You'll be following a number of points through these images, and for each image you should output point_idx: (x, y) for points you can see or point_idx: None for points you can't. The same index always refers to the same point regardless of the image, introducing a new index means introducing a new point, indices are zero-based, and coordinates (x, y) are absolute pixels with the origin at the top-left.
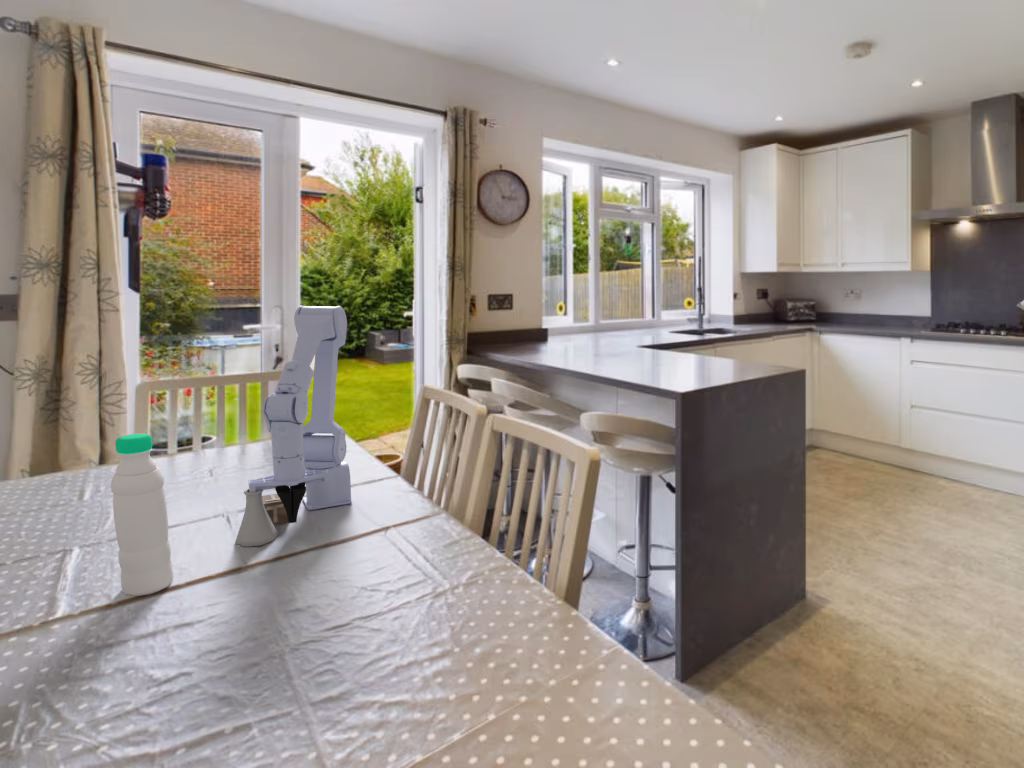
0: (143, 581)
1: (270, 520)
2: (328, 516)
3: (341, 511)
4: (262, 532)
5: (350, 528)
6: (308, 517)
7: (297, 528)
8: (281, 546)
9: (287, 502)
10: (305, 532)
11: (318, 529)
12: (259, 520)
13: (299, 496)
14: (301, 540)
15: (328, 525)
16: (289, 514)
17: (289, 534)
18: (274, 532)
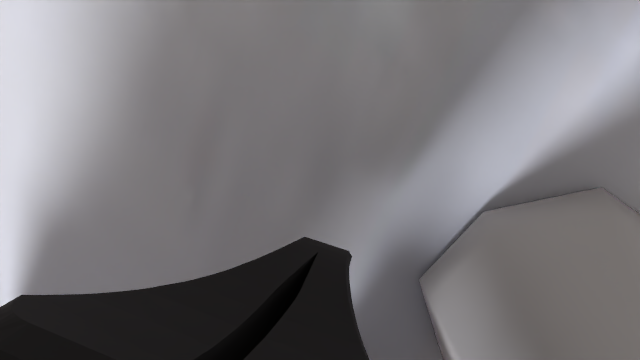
0: None
1: (471, 352)
2: None
3: None
4: (589, 253)
5: (65, 64)
6: None
7: None
8: (485, 91)
9: (317, 345)
10: (279, 191)
11: (208, 178)
12: (635, 349)
13: (136, 315)
14: (342, 94)
15: (150, 189)
16: (334, 274)
17: (363, 232)
18: (454, 270)
